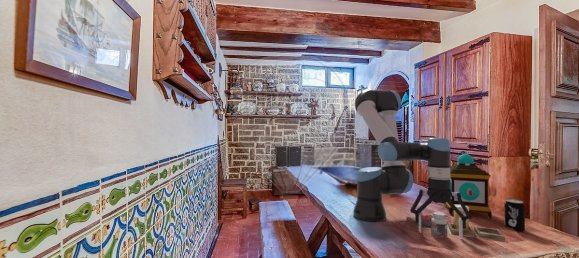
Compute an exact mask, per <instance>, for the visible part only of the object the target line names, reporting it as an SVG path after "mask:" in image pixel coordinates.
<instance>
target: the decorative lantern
mask: <svg viewBox="0 0 579 258" xmlns="http://www.w3.org/2000/svg"><path fill="white" fill-rule="evenodd" d="M490 178H491V174H489V172H487V171H486V169H483V168H480V167H479V166H478V165H476V163H475V160H474V158H473V156H471V155H470V154H468V153H463V154H461V155H460V156H458V157H457V161H456V162H455V163H454V164H452V165H450V178H449V179H450V181H451V192H459V193H460V194H461V199H462V201H463V203H464V204H465V206H468V207H469V212H472V213H483V214H486V216H487V219H489V220H491V219H492V217H493V216H492V214H493V213H492V210H491V208H490V206H489V196H490V193H491V189H490V185H489V180H490ZM449 200H450V201H451V202H452V203H453V204H454V205H460V203H459V202H458V200H457V198H455V197H454V196H452V197H451V198H450V199H449ZM443 206H444V207H446V208H448V213H449V215H451V216H452V215H453V214H454V209H453V208H452V207H451V206H450V205H449V204H448V203H447V202H446V203H443Z"/></svg>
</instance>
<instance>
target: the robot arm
mask: <svg viewBox="0 0 579 258" xmlns="http://www.w3.org/2000/svg"><path fill="white" fill-rule="evenodd" d="M401 105H402V100H401V96H400V94H399V93H398V92H397V91H395V90H391V89H372V88H371V89H370V88H369V89H364V90H363V91H360V93H358V94H357V96H356V97H355V101H354V108H355V111H356V112H357V114H358V115H359V116H361V117H362V118H363V121H364V122H365V124H366V126H367V127H368V128H369V130H370V132H371V134H372V136H373V137H374V139H375V141H376V142H377V144H378V146H377V153H378V157H379V159H380V160H382V162H383V164H382V165H381V167H380V166H368V167H363V168H361V169H359V170H357V174H356V175H357V176H356V201H355V205H354V208H353V211H352V212H353V217H354V216H355V217H354V218H356V219H358V220H361V221H366V222H381V220H382V221H385V220H386V219H387V213H386V209H385V207H384V203H383V195H394V194H395V195H397V194H398V195H401V194H407V193H409V192H410V191H411V190H412V188H413V186H414V185H413V184H414V176H413V173H412V171H411V170H409V169H407V165H406V164H405V163H403V161H404V162H405V161H422V162H423V161H424V162H427V176H428V178H427V190H426V189H425V190H424V189H423V188H420V189H419V191H418V195H417V196H416V199H415V201H414V202H413V204H412V206H411V208H410V213H411V214H414V222H415V221H416V223H419V225H418V233H420V234H421V233H422V226H421V213H422V212H423V211H424V210H425V209H426V208H427V207H428V206H429V205H430V204H431V203H435V204H439V203H440V204H444V203H446V202H447V203H448V204H449V205H450V206H451V207H452V208H453V209H454V210H453V212H454V211H455V212H456V213H457V214H458V215H459V216H460V217H461V218H459V235H458V236H459V238H460V239H463V237H464V236H463V229H465V228H466V220H467V219H469V220H471V219H472V218H473V217H472V215H471V213H470V211H468V210H467V208H466V206H465V204H464V203H463V201H462V199H461V194H460V193H459V192H451V181H450V179H449V178H450V166H451V144H450V139H449V138H447V137H429V138H427V142H422V141H421V142H419V141H414V142H400V141H399V134H398V128H397V123H396V115H397V114H399V113H398V112H399V110H400V109H401ZM425 195H428V198H427V199H426V200H425V201H424V202H423V203H422V204H421V205H420V206H419V207H418V205H419V204H420V202H421V200H422V198H423V196H425ZM452 196H454V197H455V198H457V200H458V202H459V203H460V205H461V207H462V209H463V210H464V212H465V214H466V215H463V214H462V213H461V212H460V211H459V210H458V208H457V207H456V206H455V205H454V204H453V203H452V202H451V201H450V200H449V199H450V198H451V197H452ZM417 207H418V208H417ZM384 219H385V220H384Z"/></svg>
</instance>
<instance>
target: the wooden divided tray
mask: <svg viewBox="0 0 579 258" xmlns="http://www.w3.org/2000/svg"><path fill="white" fill-rule="evenodd" d="M447 232H448V233H449V235H453V236H459V230H456V229H454V223H453V222H447ZM463 237H468V238H477V239H483V240H490V241H499V242H505V243H508V240H506V236H505V235H504V233H503V232H501V230H500V229H498V228H492V227H482V226H475V225H473V226H472V225H469V231H464V230H463Z"/></svg>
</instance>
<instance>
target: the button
mask: <svg viewBox="0 0 579 258" xmlns="http://www.w3.org/2000/svg"><path fill="white" fill-rule="evenodd" d="M420 214H421V220H425V221H431V217H432V216H431V214H430V213H424V212H423V213H422V212H421V213H420Z"/></svg>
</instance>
